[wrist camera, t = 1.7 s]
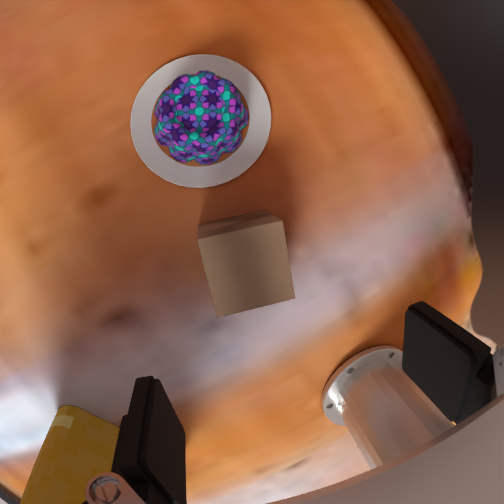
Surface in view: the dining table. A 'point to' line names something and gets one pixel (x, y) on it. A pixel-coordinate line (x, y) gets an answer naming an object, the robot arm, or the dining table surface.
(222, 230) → the walnut cube
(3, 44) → the dining table surface
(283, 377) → the dining table surface
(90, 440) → the book
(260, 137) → the pudding
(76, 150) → the dining table surface
